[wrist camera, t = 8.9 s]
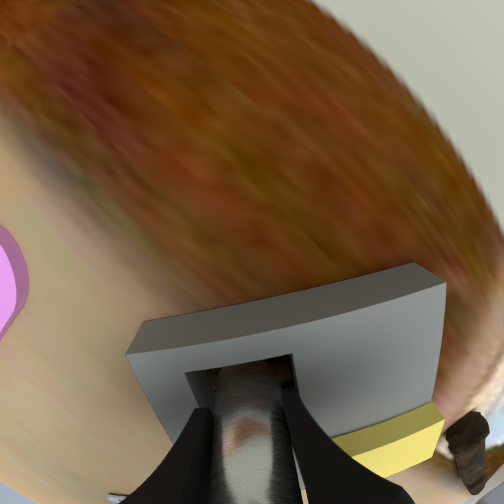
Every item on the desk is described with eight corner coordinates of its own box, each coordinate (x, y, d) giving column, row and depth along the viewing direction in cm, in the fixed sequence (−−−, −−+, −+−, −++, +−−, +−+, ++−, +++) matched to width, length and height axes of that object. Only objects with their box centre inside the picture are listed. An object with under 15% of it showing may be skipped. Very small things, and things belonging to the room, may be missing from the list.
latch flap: (309, 478, 14) (313, 498, 13) (303, 445, 13) (308, 468, 12) (421, 440, 14) (431, 457, 13) (432, 401, 13) (445, 418, 12)
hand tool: (438, 429, 19) (460, 465, 14) (474, 403, 18) (499, 435, 14) (448, 484, 24) (460, 507, 19) (473, 468, 23) (486, 490, 19)
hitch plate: (214, 468, 18) (213, 500, 15) (143, 321, 14) (125, 354, 11) (401, 425, 18) (416, 452, 15) (413, 262, 14) (446, 282, 11)
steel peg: (226, 407, 14) (225, 547, 6) (208, 364, 13) (193, 523, 6) (283, 396, 14) (311, 537, 6) (272, 352, 13) (302, 512, 6)
